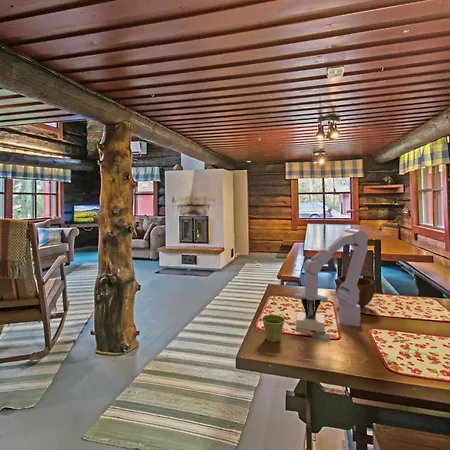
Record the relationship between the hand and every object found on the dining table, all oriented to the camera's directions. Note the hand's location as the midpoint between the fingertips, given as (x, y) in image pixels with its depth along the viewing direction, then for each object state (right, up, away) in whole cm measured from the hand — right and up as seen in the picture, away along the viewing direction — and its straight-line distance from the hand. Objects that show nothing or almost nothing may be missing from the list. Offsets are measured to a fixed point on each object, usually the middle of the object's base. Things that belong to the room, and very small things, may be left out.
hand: (310, 315), depth 139 cm
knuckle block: (0, -5, 0) cm, 5 cm away
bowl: (+30, -3, +25) cm, 39 cm away
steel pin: (0, -3, 0) cm, 3 cm away
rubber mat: (+1, -6, -11) cm, 13 cm away
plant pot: (-19, -6, -13) cm, 24 cm away
